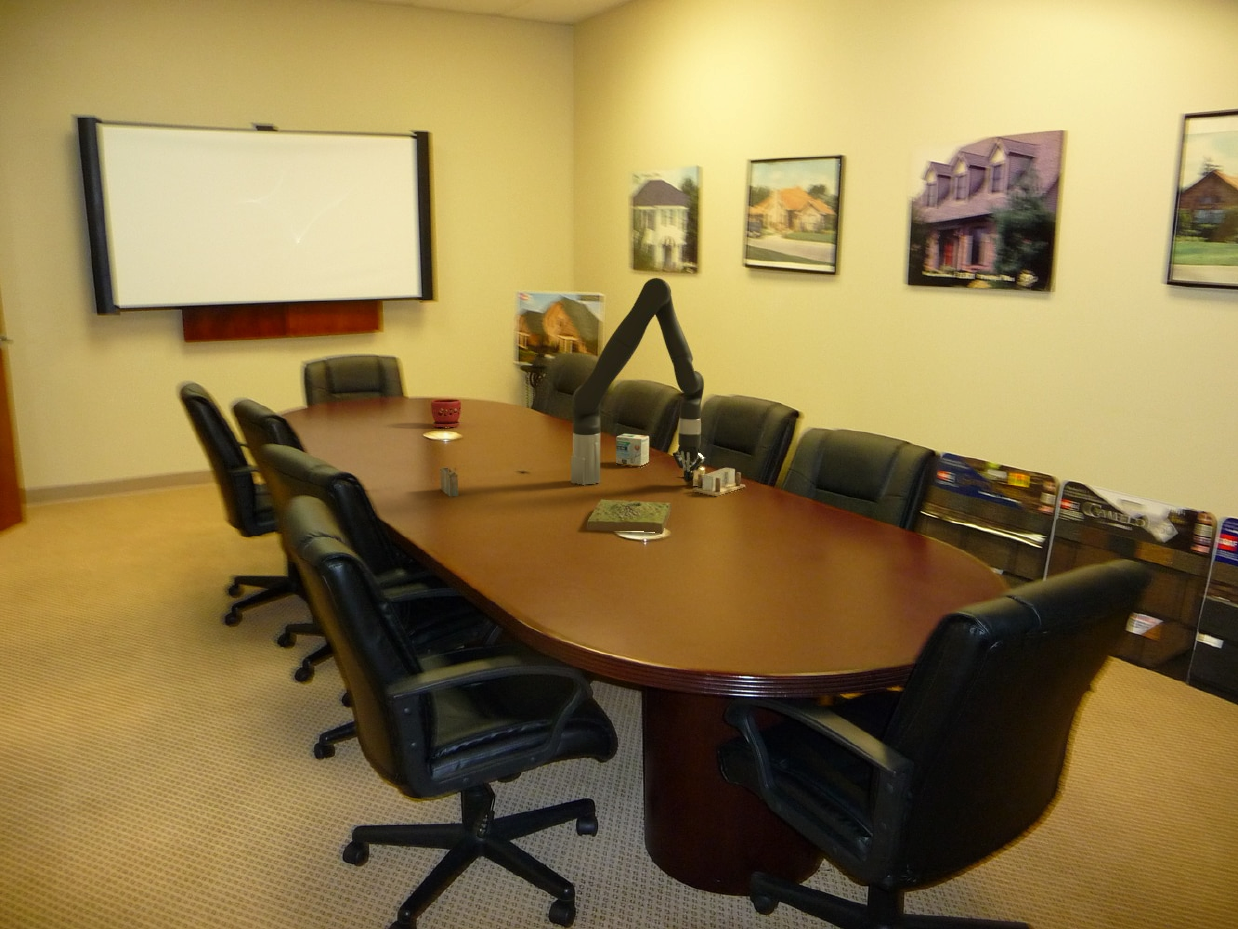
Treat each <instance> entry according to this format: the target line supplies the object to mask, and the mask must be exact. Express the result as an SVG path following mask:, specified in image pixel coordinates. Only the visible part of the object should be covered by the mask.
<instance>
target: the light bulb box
mask: <svg viewBox="0 0 1238 929" xmlns="http://www.w3.org/2000/svg"><path fill="white" fill-rule="evenodd" d="M615 441H616V442H615V444H616V445H615V446H616V447H615V448H616V449H615V450H616V451H615V464H616V463H623V464H631V465H639V466H641V465H644V464H646V463H648V462H650V456H649V455H650V436H649V435H641V434H631V433H623V434H620V435H618V436H616V440H615Z"/></svg>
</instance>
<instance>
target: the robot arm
mask: <svg viewBox="0 0 1238 929" xmlns="http://www.w3.org/2000/svg"><path fill="white" fill-rule="evenodd" d="M654 317H655V318H656V320H657V321H658V324H659V327H660V330H661V334H662V337H663V340H664V345H665V348H666V351H667V352H668V355H669V358H670V360H671V363H672V365H673V370H674V376H675V380H676V383H677V385H678V389H680V391H681V393H683V395H682V396H683V397H682V400H681V402H680V404H679V421H678V432H677V434H678V435H677V438H678V439H677V444H678V448H677V450H676V451H675V452H672V456H673V458H674V460H675V462H676V464H677V467H678V468H679V469H682V470H683V475H684V478H683V480H684V482H685V483H691V482H693V471H694V470H698V469H699V467H700V466H703V463H704V462H705V461H706V456H703V455H702V454H701V449H700V447H701V441H702V440H701V438H702V435H701V434H702V422H701V421H702V420H701V417H702V415H701V414H702V401H703V394H704V390H705V389H704V388H705V380H704V377H703V375H702V374H701V372H699V371H696V370H695V368H694V365H693V360H694V357H693V354H692V351H691V349H690V345H689V343H688V341H687V338H686V336H685V333H684V331H683V329H682V327H681V325H680V322H679V320H678V317H677V314H676V311H675V306H674V304H673V297H672V290H671V287H670V285H669V283H668V282H666V280H664V279H662V278H660V277H652V278H651V279H650V278H649V279H648V280H646V282H645V283H644V284H643V287H642V288H641V290H640V293H639V295H638V297H637V298H636V299H635V303H634V304H633V306H632V307H631V309H630V311H629V312H628V313H627V315H626V316H625V317H624V318H623V320H622V321H621V322H620V324H619V325H618V326H617V328H616V329H615V331H614V332H613V333H612V335H611V336H610V338H609V339H608V341H607V342H606V344H605V346H604V348H603V349H602V351H601V354H600V355H599V357H598V358H597V362H596V364H595V366H594V369H593V370H592V372H591V373H590V375H589V376H588V377H587V379H586V380H585V382H583V384H581V385H580V386H578V387H577V388H576V389H575V390H574V392H573V396H572V433H573V434H572V455H570V468H571V469H570V481H571V482H570V483H571V484H575V483H577V484H576V485H579V484H582V485H581V486H583V485H584V486H586V485H585V484H594V485H596V484H595V483H598V484H600V483H601V403H602V401H603V399H604V397H605V395H606V393H607V391H608V389H609V388H610V386H611V384H612V383H613V382H614V380H615V379H616V378H617V377H618V376H619V375H620V373H621V372H622V371H623V369H624V368H625V367H626V365H627V364H628V362H629V361H630V359H631V358H632V356H633V355H634V354H635V352H636V350H637V348H638V347H639V345H640V343H641V341H642V339H643V338H644V335H645V333H646V331H647V327H648V326H649V324H650V322H651V321H652V320H653V318H654Z"/></svg>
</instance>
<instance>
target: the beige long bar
mask: <svg viewBox="0 0 1238 929" xmlns="http://www.w3.org/2000/svg"><path fill="white" fill-rule="evenodd" d="M698 474H703V475H704V474H706V467H705V466H703V465H701V466H700V467H699V469H698V470H694V471H693V476H694V478H693V480H692V487H693V486H698Z"/></svg>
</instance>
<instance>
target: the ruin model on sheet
mask: <svg viewBox="0 0 1238 929" xmlns="http://www.w3.org/2000/svg"><path fill="white" fill-rule="evenodd" d="M458 470H459V468H458V467H457V466H455V467H454V468H453V470H452V469H451V468H449V467H440V487H441V488H440V490H441V489H442V490H443V493H445V495H447V496H448V497H449V496H450V497H449V498H454V497H453V496H458V497H459V482H458V480H459V478H458V474H456V472H458ZM442 490H441V491H442Z"/></svg>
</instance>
